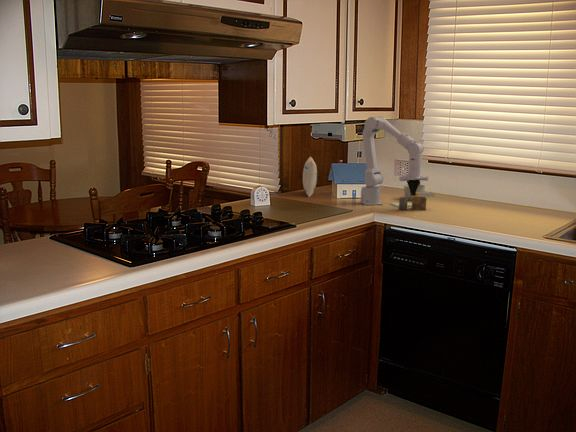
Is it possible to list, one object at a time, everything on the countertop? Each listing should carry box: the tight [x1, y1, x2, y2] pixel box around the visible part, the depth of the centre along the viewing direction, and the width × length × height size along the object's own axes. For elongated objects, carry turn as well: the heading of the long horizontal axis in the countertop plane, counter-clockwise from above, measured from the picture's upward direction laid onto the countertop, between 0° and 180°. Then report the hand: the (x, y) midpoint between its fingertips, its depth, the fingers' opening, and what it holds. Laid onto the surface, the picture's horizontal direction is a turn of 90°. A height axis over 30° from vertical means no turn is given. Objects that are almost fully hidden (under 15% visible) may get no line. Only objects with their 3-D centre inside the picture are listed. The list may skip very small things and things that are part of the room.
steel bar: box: [414, 191, 436, 198], centre depth 292 cm, size 10×3×2 cm, turn 105°
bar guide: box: [411, 196, 428, 211], centre depth 292 cm, size 5×5×6 cm
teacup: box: [403, 183, 426, 202], centre depth 318 cm, size 14×11×8 cm
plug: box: [398, 196, 409, 212], centre depth 290 cm, size 4×4×6 cm
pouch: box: [302, 155, 318, 198], centre depth 325 cm, size 8×19×20 cm, turn 176°
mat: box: [390, 201, 412, 208], centre depth 302 cm, size 10×8×1 cm
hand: (412, 195), depth 290 cm, fingers closed
